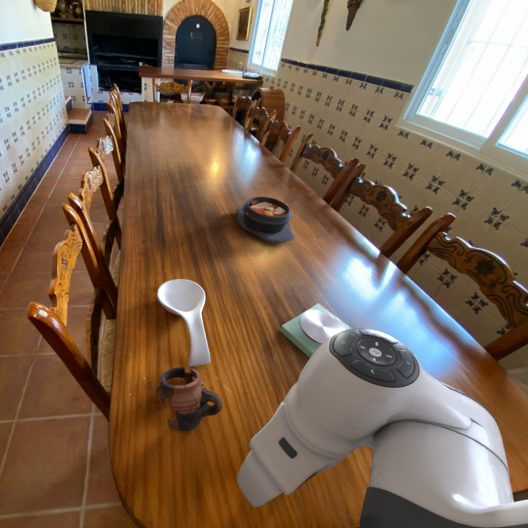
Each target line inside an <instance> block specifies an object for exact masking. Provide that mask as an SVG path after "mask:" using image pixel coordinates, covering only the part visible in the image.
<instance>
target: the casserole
mask: <svg viewBox="0 0 528 528" xmlns="http://www.w3.org/2000/svg"><path fill="white" fill-rule="evenodd" d="M235 212H236V215H237V222H238V224H239V226H241V228H243V229H244V230H246V231H247V232H249V233H251V234H254V235H256V236H258V237H259V238H260V239H263V240H264V241H266V242H269V243H274V244H275V243H276V244H277V243H278V244H281V243H287V242H290V241H293V240H294V239H295V237H296V235H295V233H294V231H293V230H292V227H291V224H290V223H289V222H291V221H292V220H293V215H292V210H291V207H290V206H289V205H288V204H287V203H286V202H284V201H282V200H281V199H277V198H274V197H270V196H260V195H259V196H253V197H250V198H249V199H248V200H247V201H246V202H245V203H243V205H242V206H240V207H239V206H238V207H237V208H236V209H235Z"/></svg>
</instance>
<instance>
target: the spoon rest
mask: <svg viewBox="0 0 528 528" xmlns="http://www.w3.org/2000/svg"><path fill="white" fill-rule="evenodd" d="M156 293H157V294H156V297H157V300H158V302H159V303H160V305H161V306H162V307H163V308H164V309H165V310H166V311H168V312H169V313H171V314H173V315H174V314H175V315H177V316H179V317H180V318H182V320H183V321H184V322H185V325H186V327H187V330H188V335H189V340H190V352H189V358H188V362H187V366H188V367H190V368H192V367H198V366H204V365H209V364H210V363H211V353H210V350H209V345H208V340H207V335H206V331H205V326H204V321H203V315H202V314H203V313H202V312H203V309H204V306H205V303H206V292H205V290H204V289H203V288H202V286H201V285H200V284H198V283H197V282H196V281H193V280H190V279H183V278H178V279H171V280H168V281H165V282H163V283H162V284H161V285H160V286H159V287H158V289H157V292H156Z"/></svg>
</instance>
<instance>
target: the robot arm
mask: <svg viewBox="0 0 528 528" xmlns="http://www.w3.org/2000/svg"><path fill="white" fill-rule="evenodd" d="M503 441H504V440H503V437H502V433H501V431H500V426H499V423H498V421H497V420H496V418H495V417H494V415H493V414H492V413H491V412H490V411H489V410H488V409H487V408H486V407H485V406H484V405H482V404H481V403H480V402H479V401H477V400H476V399H474V398H473V397H471V396H470V395H468V394H466V393H465V392H462V391H461V390H459V389H458V388H455V387H453V386H451V385H448V384H447V383H444V382H442V381H440V380H437V379H436V378H434V376H432V375H431V374H430V373H428V372H427V370H426V369H425V368H424V367H423V366H422V364H421V362H420V361H419V359H418V357H417V356H416V355H415V353H414V352H413V351H412V350H411V349H410V348H409V347H408V346H407V345H406V344H404V343H403V342H401V341H400V340H398V339H397V338H395V337H393V336H391V335H389V334H387V333H384V332H382V331H380V330H376V329H372V328H366V327H365V328H363V327H357V328H356V327H353V328H352V329H347V330H344V331H341V332H338V333H336V334H334V335H333V336H331V337H330V338H328V339H327V340H326V341H325V342H324V343H323V344H322V345H321V346H320V347H319V348H318V349H317V350H316V351H315V352H314V354H313V355H312V356H311V358H309V359H308V360H307V362H306V363H305V365H304V366H303V368H302V370H301V371H300V373H299V376H298V380H297V381H296V382H295V383H294V384H293V385H292V386H291V387H290V389H289V391H288V392H287V394H286V395H285V397H284V399H283V400H282V401H281V402H280V404H279V405H278V407H277V408H276V410H275V412H274V414H273V416H272V417H271V418H269V419H268V421H267V422H266V423H265V424H264V425H263V426H262V427H261V428H260V429H259V430H257V432H256V433H255V435H254V436H253V437H252V438H251V439H250V441H249V443H248V447H249V449H250V451H249V452H248V454H247V456H246V457H245V459H244V460H243V462H242V464H241V466H240V467H239V471H238V473H237V475H236V483H237V485H238V487H239V489H240V490H241V493H242V494H243V496H244V497H245V498H246V500H247V501H248V502H249V503H250V505H251V506H252V507H253V508H260V507H262V506H264V505H265V504H267V503H269V502H271V501H272V500H274V499H275V498H277V497H278V496H280V495H281V494H284V495H285V496H288V497H289V496H292V494H293V493H294V492H295V491H297V490H298V489H300V488H301V487H302V486H303V485H304V484H305V483H306V482H308V481H309V480H311V479H312V478H314V477H315V476H316V475H318V474H320V473H323V472H325V471H328V470H329V469H331V468H333V467H336V466H337V465H339V464H340V463H342V461H344V460H345V459H347V458H348V456H350V455H351V454H352V453H354V451H356V450H357V449H358V448H361V447H366V448H369V449H371V450H372V455H371V465H370V473H369V479H368V487H367V488H366V490H365V494H364V499H363V504H362V508H361V513H360V515H359V516H360V517H359V520H358V521H359V527H360V528H528V499H523V500H519V501H515V500H514V494H513V489H512V485H511V473H510V469H509V466H508V465H509V464H508V459H507V454H506V450H505V446H504V442H503Z"/></svg>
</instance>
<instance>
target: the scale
mask: <svg viewBox="0 0 528 528" xmlns="http://www.w3.org/2000/svg"><path fill="white" fill-rule="evenodd" d="M309 310H319V311H323V312H326V313H328V314H330V315H332V316H333V317H335V318H336V319H337V320H339V321H340V322H341V324H342V325H343V326H344V328H345V330H347V329H353V328H352V327H350V326H349V325H348V324H347V323H345V322H344V321H342V320H341V319H340V318H339V317H337V316H336V315H334V314H333V313H332V312H330V311H329V310H328V309H327V308H325V307H324V306H323V305H322V304H320V303H316V304H315V305H313V306H311V307H310V308H308V309H306V310H305V311H303V312H301V313H299V314H298V315H297V316H295V317H293V318H292V319H289V320H288V321H287V322H285V323H284V324H282V325H281V327H280V328H279V332H281V334H283V335H284V336H285V337H286V339H288V340H289V341H290V342H291V343H292V344H293V345H295V347H297V348H298V349H299V350H300V351H302V353H303V354H305V355H306V356H307V358H309V359H310V358H311V356H312V355H313V354H314V352H315V351H316V350H317V349H318V348H319V347H320V346H321V345H319V344H317V343H315V342H313V341H312V340H310V339H309V338H308V337H307V336H306V335H305V334H304V333H303V332H302V330H301V328H300V325H299V319H300V317H301V315H302V314H303V313H304V312H306V311H309Z"/></svg>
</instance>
